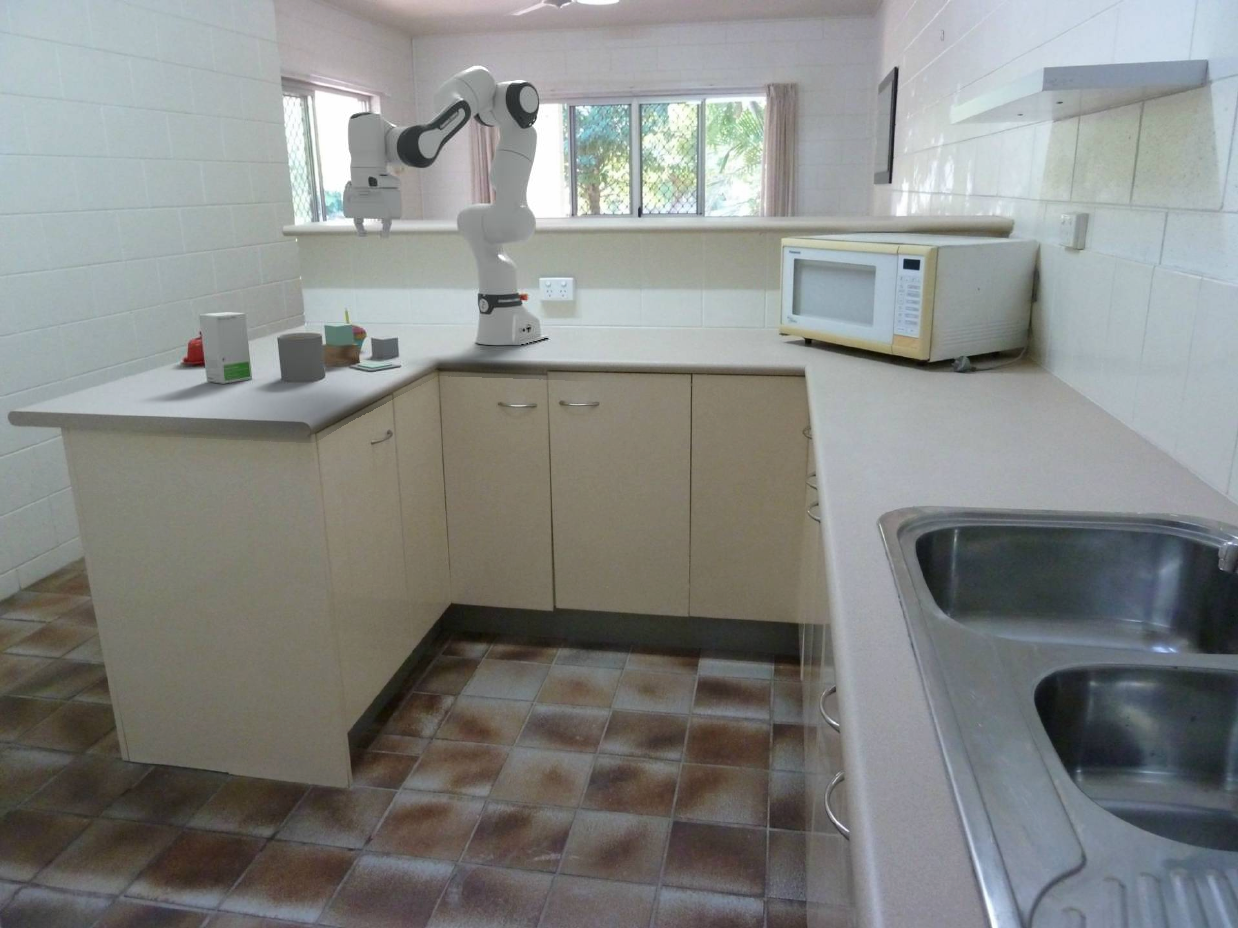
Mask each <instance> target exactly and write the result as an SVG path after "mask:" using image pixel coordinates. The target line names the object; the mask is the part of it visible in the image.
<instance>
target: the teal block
mask: <svg viewBox="0 0 1238 928" xmlns="http://www.w3.org/2000/svg"><path fill="white" fill-rule="evenodd" d="M353 325H354V324H351V323H349V324H347V323H344V322H338V323H336V322H335V323H330V324H324V338H325V344H326V345H332V346H344V345H351V344H354V334H353Z"/></svg>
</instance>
